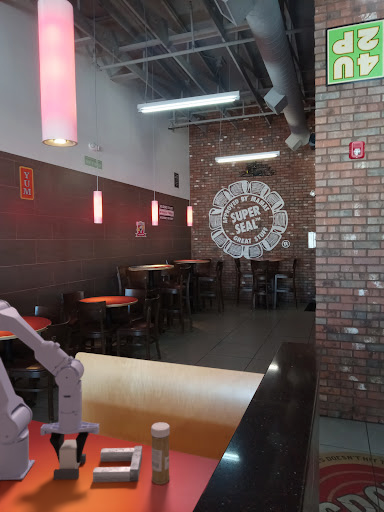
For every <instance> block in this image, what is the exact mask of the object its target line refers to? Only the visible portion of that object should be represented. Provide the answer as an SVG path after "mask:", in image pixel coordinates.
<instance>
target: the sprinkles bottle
mask: <svg viewBox="0 0 384 512" xmlns="http://www.w3.org/2000/svg"><path fill="white" fill-rule="evenodd" d="M170 427H171V426H170V424H168V423H167V422H159V421H158V422H155V423H153V424H152V425H151V428H150V431H151V432H150V434H151V481H152V482H153V483H154V484H156V485H164V484H167V483H168V482H169V481H170V479H171V477H170V434H171V433H170V431H171V429H170Z"/></svg>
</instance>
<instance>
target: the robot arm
mask: <svg viewBox="0 0 384 512" xmlns="http://www.w3.org/2000/svg"><path fill="white" fill-rule="evenodd" d="M0 332H10V333H11V334H13V335H14V336H15V337H16V338H18V339H19V340H20V341H22V343H24V344H25V345H26V346H27V347H28V348H29V349H31V350H33V351H34V358H35V360H36V361H37V362H39V363H40V364H41V366H43V367H44V368H45V369H46V370H48V372H50V373H51V374H52V375H53V376H54V380H55V383H56V386H58V422H54V423H43V424H42V426H41V427H40V436H45V435H48V434H49V435H50V437H49V443H50V444H51V446H52V447H53V449H54V452H55V453H56V458H57V461H58V463H59V450H60V448H61V446H62V445H63V443H64V441H65V435H73V434H77V435H76V438H75V440H76V445H77V463H80V461H81V459H82V454H83V452H84V447H85V445H86V442H87V440H88V436H89V434H93V435H98V434H99V432H100V423H95V422H87V421H83V418H82V417H83V408H82V407H83V389H82V377H83V375H84V373H85V366H84V365H83V363H82V362H81V360H80V359H78V358H74V357H73V356H72V355H70V356H69V355H68V354H67V353H66V352H65V351H64V350H63V349H61V347H60V346H61V345H60V343H58V342H54V341H52V340H44V338H43V337H42V336H40V334H39V333H38V332H37V331H36V330H35V329H34V328H33V327H32V326H31V325H30V324H29V323H28V322H27V321H26V320H25V319H24V318H23V317H22V316H21V315H20V314H19V312H18V310H17V309H16V308H15V307H13V306H11V305H10V304H9V302H8V301H6V300H3V299H0ZM32 419H33V411H32V409H31V408H30V407H29V406H28V405H27V404H26V402H25V401H24V398H22V397H21V396H19V395H17V394H16V392H15V390H14V387H13V385H12V383H11V379H10V378H9V375H8V373H7V370H6V368H5V366H4V363H3V361H2V358H1V357H0V481H7V480H8V481H9V480H11V481H12V480H13V481H14V480H18V481H19V480H24V478H25V477H26V475H27V474H28V472H29V471H30V470H31V468H32V467H33V465H34V464H35V459H30V456H29V455H30V453H29V452H30V451H29V449H30V447H29V445H30V444H29V443H30V440H29V438H30V437H29V435H30V434H29V432H30V431H29V428H28V427H29V426H28V425H29V424H30V423H31V422H32ZM80 464H81V463H80Z"/></svg>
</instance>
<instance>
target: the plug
mask: <svg viewBox="0 0 384 512" xmlns="http://www.w3.org/2000/svg"><path fill="white" fill-rule="evenodd" d="M80 462H81V461H80ZM80 464H81V463H77V445H76V439H64V443H63V445H62V446H61V448H60V450H59V462H58V465H59V466H58V467H59V468H58V469H79V467H80Z"/></svg>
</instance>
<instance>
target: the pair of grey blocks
mask: <svg viewBox="0 0 384 512" xmlns="http://www.w3.org/2000/svg"><path fill="white" fill-rule="evenodd" d="M86 462H87V453H82V459H81V462H80V464H86ZM79 478H80V468H78V469H59V468H55V469H54V470H53V480H56V481H57V480H78V479H79Z"/></svg>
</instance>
